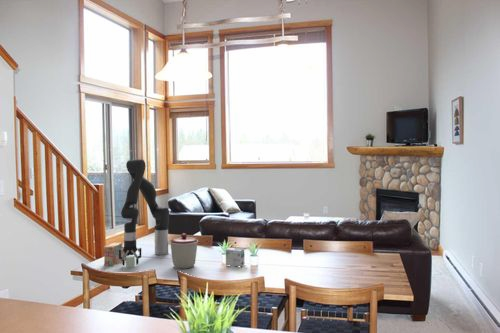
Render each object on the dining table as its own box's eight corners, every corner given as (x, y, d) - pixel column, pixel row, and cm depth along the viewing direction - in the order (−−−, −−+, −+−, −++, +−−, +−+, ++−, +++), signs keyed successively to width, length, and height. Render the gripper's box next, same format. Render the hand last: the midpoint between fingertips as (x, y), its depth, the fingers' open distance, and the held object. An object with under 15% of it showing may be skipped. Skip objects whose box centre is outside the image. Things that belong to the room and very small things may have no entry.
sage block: (134, 265, 273) (134, 255, 273) (134, 267, 268) (134, 257, 268) (126, 265, 272) (126, 256, 272) (125, 267, 267) (125, 258, 267)
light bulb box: (244, 265, 274) (244, 248, 274) (241, 267, 268) (241, 250, 268) (229, 263, 278) (229, 247, 278) (225, 266, 272) (225, 249, 271)
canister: (197, 262, 280) (197, 230, 279) (199, 270, 262) (199, 235, 262) (169, 263, 277) (169, 231, 276) (169, 271, 259) (169, 236, 258)
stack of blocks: (120, 257, 293) (120, 239, 292) (128, 257, 292) (128, 239, 291) (104, 265, 272) (103, 246, 271) (113, 266, 271) (113, 246, 270)
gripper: (142, 237, 275) (142, 262, 275) (118, 238, 271) (118, 264, 272) (141, 239, 267) (141, 265, 268) (117, 240, 264) (118, 267, 265)
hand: (130, 264), depth 270 cm, fingers open, 7 cm apart
